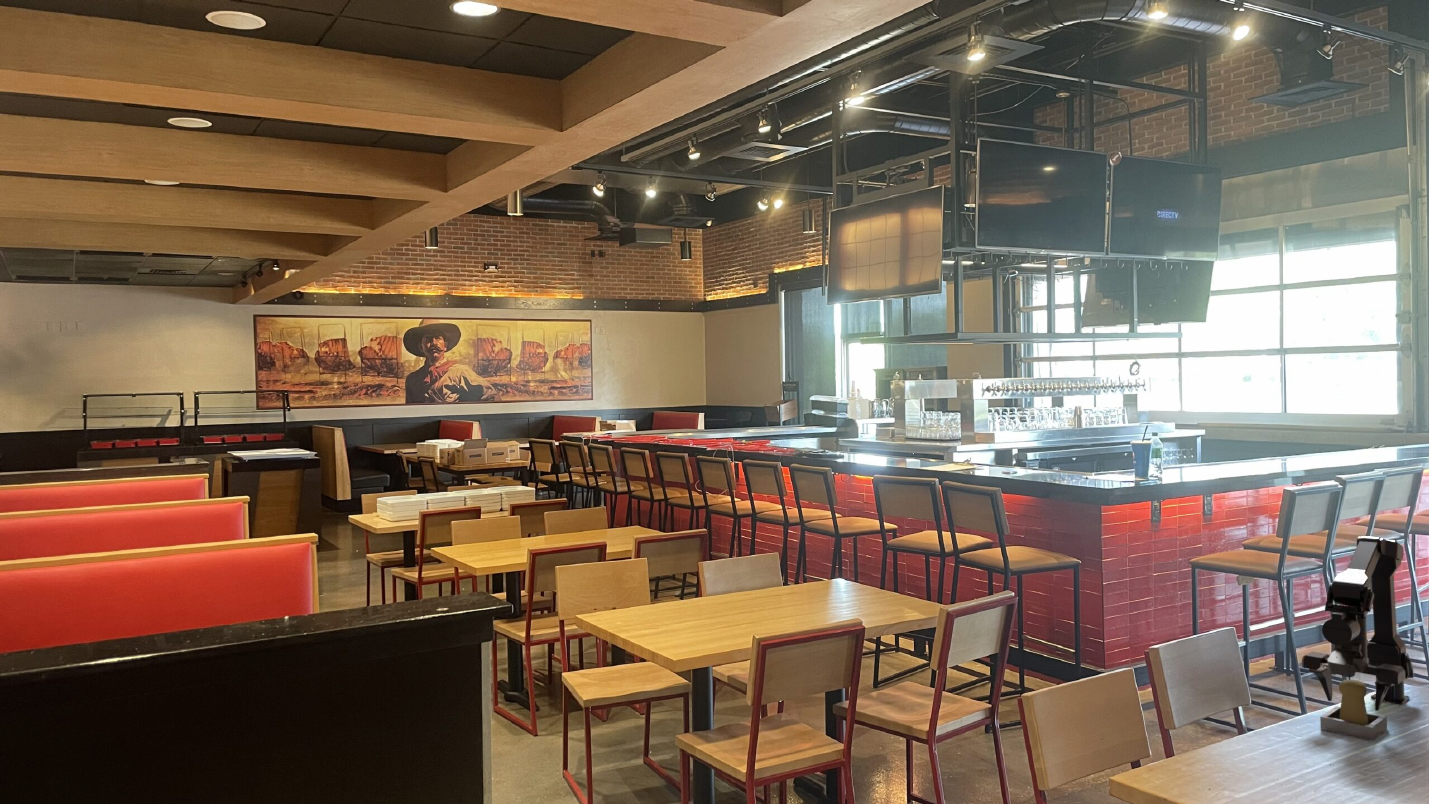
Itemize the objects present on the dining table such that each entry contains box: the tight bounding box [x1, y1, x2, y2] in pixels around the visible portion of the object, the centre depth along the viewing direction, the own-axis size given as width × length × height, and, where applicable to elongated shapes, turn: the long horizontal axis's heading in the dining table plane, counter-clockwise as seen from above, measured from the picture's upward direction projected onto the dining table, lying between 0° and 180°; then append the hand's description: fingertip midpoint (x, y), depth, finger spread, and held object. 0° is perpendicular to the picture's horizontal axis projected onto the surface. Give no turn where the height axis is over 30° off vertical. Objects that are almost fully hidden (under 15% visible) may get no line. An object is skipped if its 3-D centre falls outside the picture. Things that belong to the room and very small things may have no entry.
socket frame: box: [1319, 705, 1388, 742], centre depth 217 cm, size 10×10×3 cm
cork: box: [1338, 679, 1369, 725], centre depth 217 cm, size 6×6×11 cm
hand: (1353, 705), depth 217 cm, fingers open, 9 cm apart
